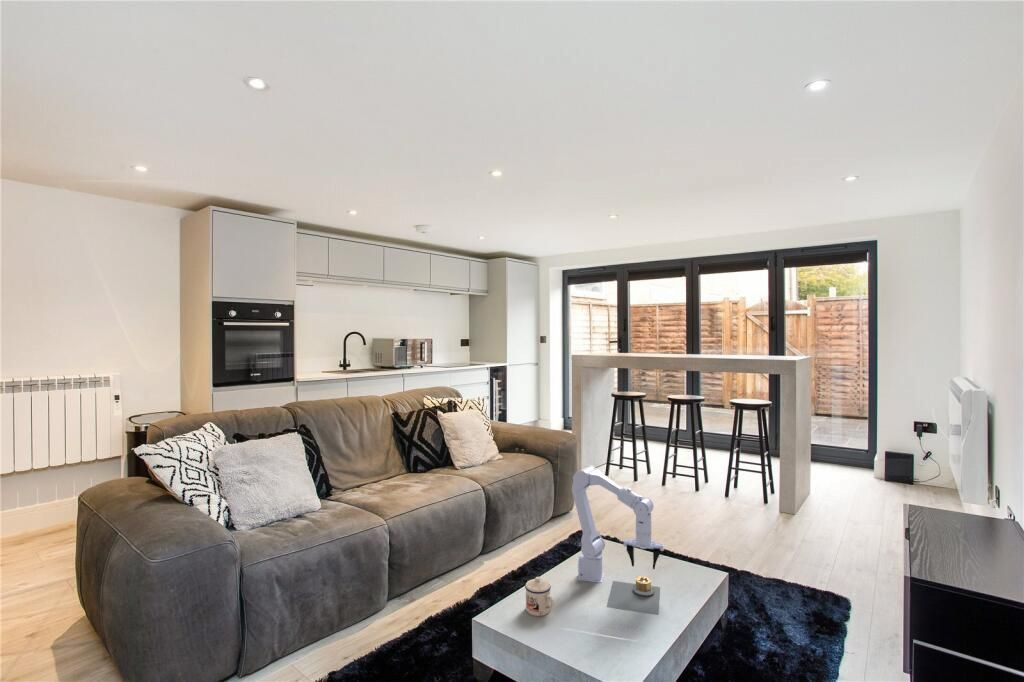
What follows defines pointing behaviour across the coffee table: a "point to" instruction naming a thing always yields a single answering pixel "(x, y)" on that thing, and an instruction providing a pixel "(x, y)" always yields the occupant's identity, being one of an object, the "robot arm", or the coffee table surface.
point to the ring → (643, 584)
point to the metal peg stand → (643, 594)
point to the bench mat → (633, 599)
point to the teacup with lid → (538, 597)
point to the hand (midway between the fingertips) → (643, 566)
